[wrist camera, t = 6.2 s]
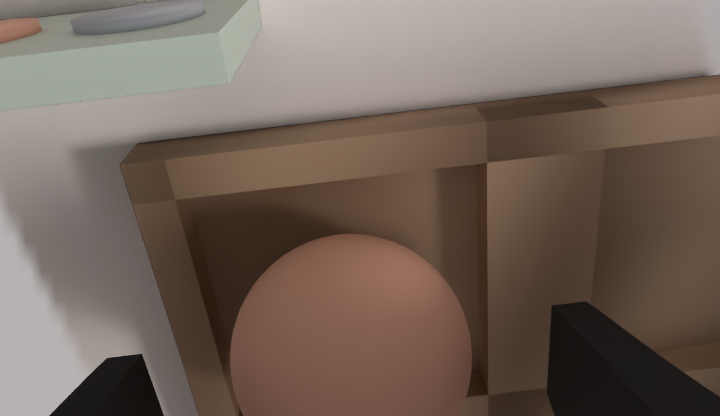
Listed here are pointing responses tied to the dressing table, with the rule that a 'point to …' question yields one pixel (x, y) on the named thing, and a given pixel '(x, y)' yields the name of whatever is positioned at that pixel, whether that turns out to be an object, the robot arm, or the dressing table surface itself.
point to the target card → (124, 51)
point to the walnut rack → (459, 223)
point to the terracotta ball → (351, 334)
